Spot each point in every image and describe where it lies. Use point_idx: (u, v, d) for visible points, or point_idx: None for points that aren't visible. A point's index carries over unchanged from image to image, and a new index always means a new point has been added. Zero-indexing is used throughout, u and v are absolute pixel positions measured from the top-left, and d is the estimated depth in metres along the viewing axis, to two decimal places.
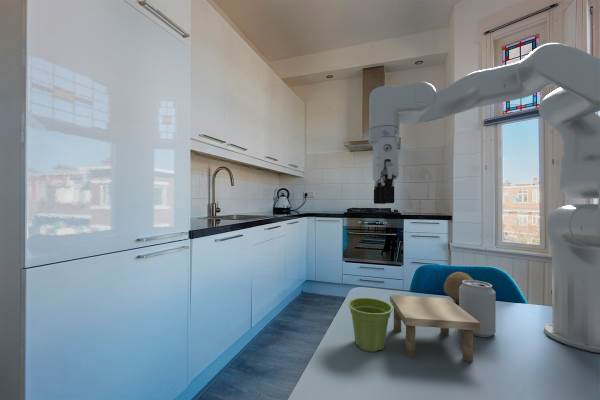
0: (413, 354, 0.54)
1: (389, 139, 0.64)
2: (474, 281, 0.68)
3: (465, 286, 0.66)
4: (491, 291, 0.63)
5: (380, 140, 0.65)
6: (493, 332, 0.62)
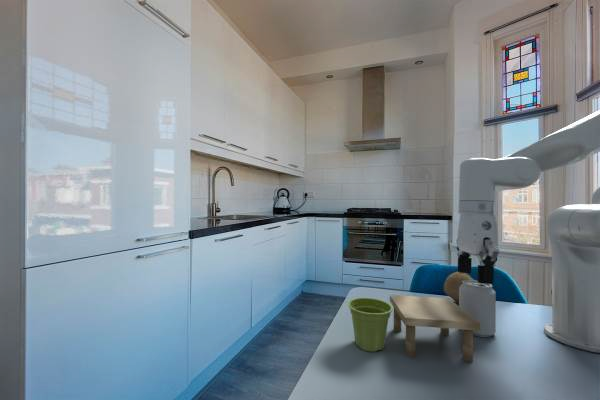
0: (413, 354, 0.54)
1: (488, 216, 0.62)
2: (474, 281, 0.68)
3: (465, 286, 0.66)
4: (491, 291, 0.63)
5: (478, 216, 0.62)
6: (493, 332, 0.62)
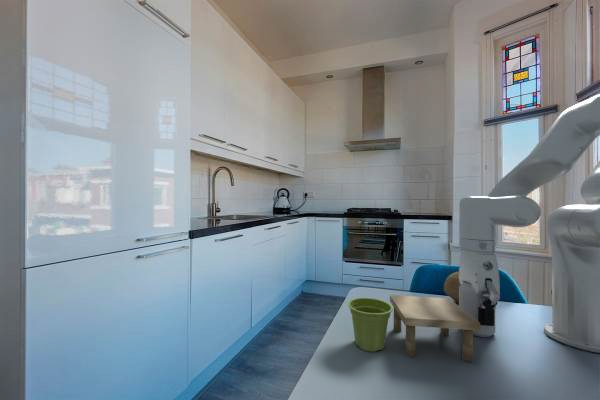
0: (413, 354, 0.54)
1: (489, 256, 0.62)
2: None
3: (465, 285, 0.66)
4: None
5: (479, 256, 0.62)
6: (493, 332, 0.62)
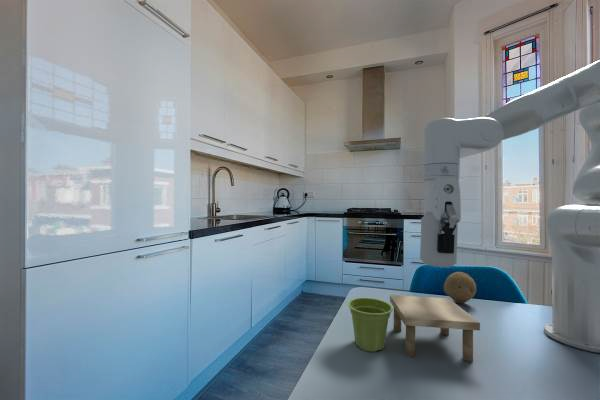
0: (413, 354, 0.54)
1: (450, 179, 0.57)
2: None
3: (426, 215, 0.61)
4: None
5: (440, 179, 0.58)
6: (453, 261, 0.58)
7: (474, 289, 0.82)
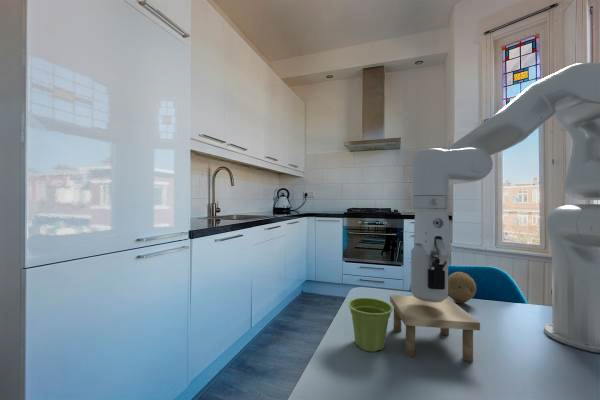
0: (413, 354, 0.54)
1: (439, 212, 0.56)
2: None
3: (416, 247, 0.60)
4: None
5: (429, 213, 0.56)
6: (444, 297, 0.56)
7: (474, 289, 0.82)
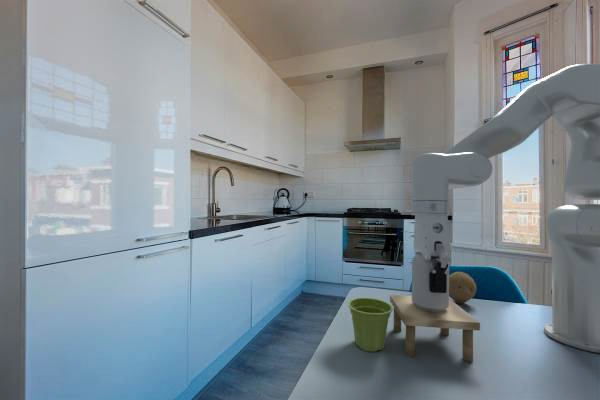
0: (413, 354, 0.54)
1: (439, 217, 0.56)
2: None
3: (417, 256, 0.60)
4: None
5: (428, 218, 0.56)
6: (445, 306, 0.56)
7: (474, 289, 0.82)
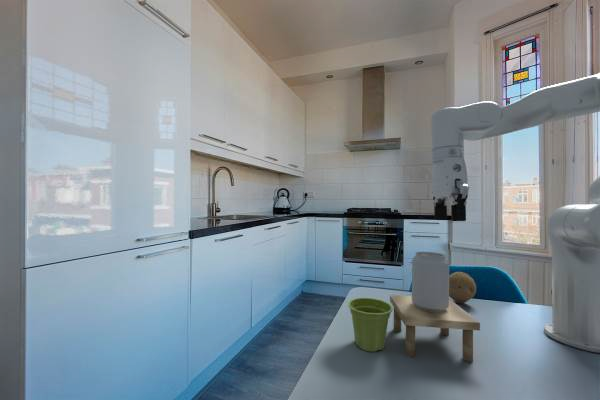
0: (413, 354, 0.54)
1: (458, 159, 0.67)
2: (429, 253, 0.62)
3: (417, 257, 0.60)
4: (443, 261, 0.57)
5: (449, 160, 0.67)
6: (445, 306, 0.56)
7: (474, 289, 0.82)
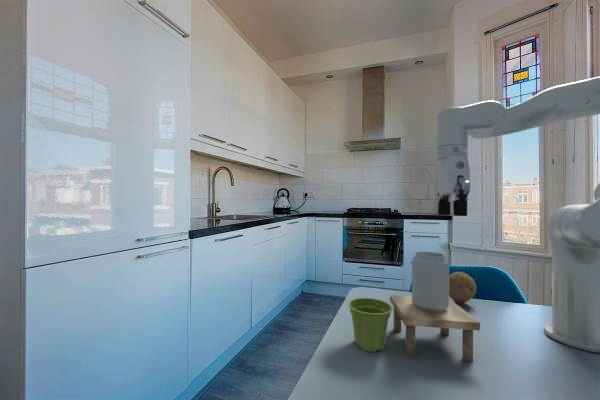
0: (413, 354, 0.54)
1: (461, 157, 0.69)
2: (429, 253, 0.62)
3: (416, 257, 0.60)
4: (443, 261, 0.57)
5: (452, 157, 0.70)
6: (445, 306, 0.56)
7: (474, 289, 0.82)
